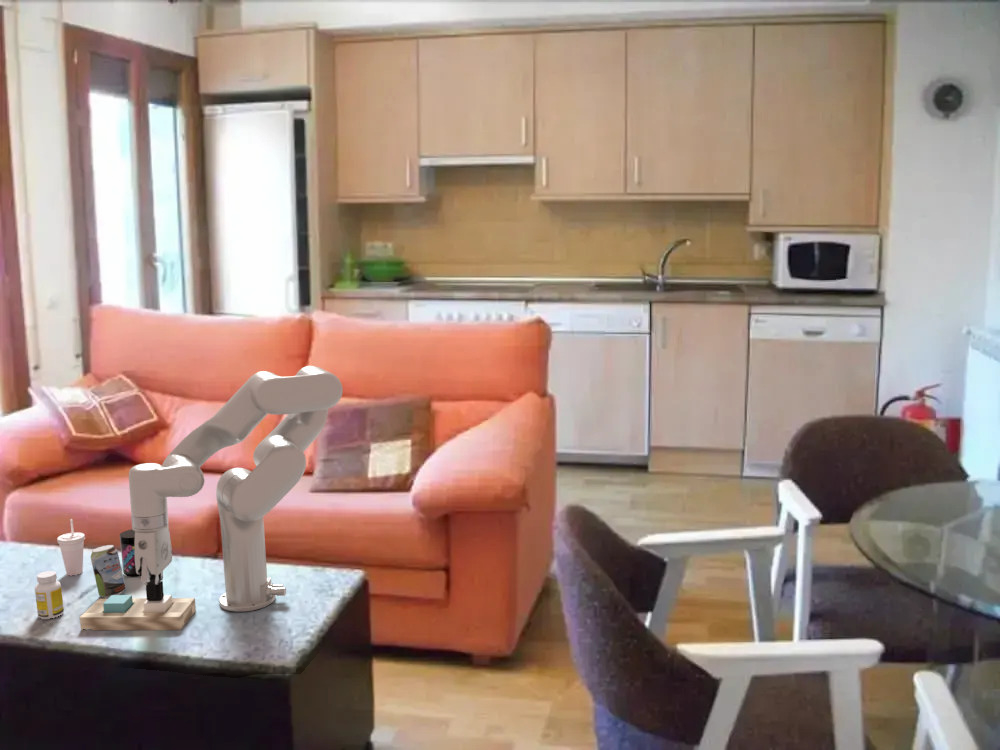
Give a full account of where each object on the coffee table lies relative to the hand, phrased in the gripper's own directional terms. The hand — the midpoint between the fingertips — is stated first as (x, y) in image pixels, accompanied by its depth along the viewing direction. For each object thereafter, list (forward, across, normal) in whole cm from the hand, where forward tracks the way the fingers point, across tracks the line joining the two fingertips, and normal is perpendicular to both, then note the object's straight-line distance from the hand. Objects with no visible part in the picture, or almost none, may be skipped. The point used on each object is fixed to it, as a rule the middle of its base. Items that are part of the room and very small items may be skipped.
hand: (155, 599), depth 220 cm
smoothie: (+6, +28, +32) cm, 43 cm away
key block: (+5, 0, +4) cm, 6 cm away
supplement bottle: (+6, +3, +26) cm, 26 cm away
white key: (+3, 0, 0) cm, 3 cm away
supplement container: (+5, +28, +16) cm, 33 cm away
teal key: (+3, 0, +9) cm, 9 cm away
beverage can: (+5, +14, +16) cm, 22 cm away
